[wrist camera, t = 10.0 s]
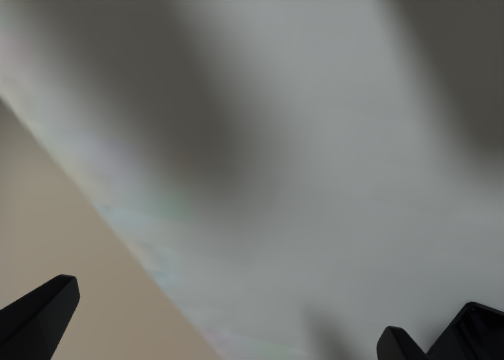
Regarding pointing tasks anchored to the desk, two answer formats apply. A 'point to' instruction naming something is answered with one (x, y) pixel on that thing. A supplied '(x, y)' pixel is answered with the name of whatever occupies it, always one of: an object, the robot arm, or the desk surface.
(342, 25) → the desk surface
